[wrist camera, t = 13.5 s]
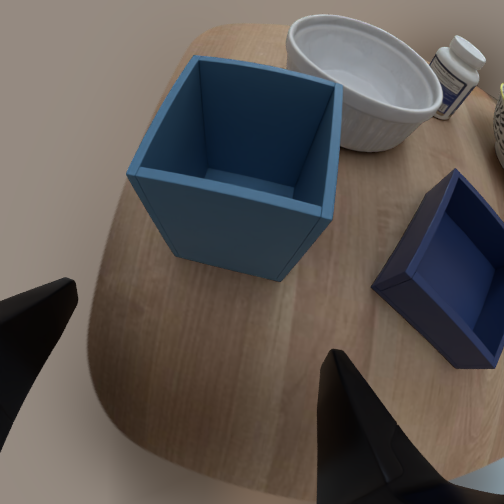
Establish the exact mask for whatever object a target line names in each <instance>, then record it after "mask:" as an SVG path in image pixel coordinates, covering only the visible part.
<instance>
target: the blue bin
mask: <svg viewBox="0 0 504 504" xmlns="http://www.w3.org/2000/svg"><path fill="white" fill-rule="evenodd" d="M342 103H343V85H342V84H339V83H335V82H332V81H329V80H325V79H322V78H318V77H315V76H311V75H307V74H303V73H299V72H295V71H291V70H287V69H282V68H277V67H273V66H268V65H262V64H257V63H251V62H245V61H239V60H232V59H225V58H217V57H207V56H197V55H193V57H192V58H191V60H190V61H189V63H188V64H187V65H186V67H185V68H184V70H183V72H182V73H181V75H180V76H179V78H178V79H177V81H176V82H175V84H174V86H173V87H172V89H171V90H170V92H169V94H168V95H167V97H166V99H165V100H164V102H163V104H162V105H161V107H160V109H159V111H158V112H157V114H156V116H155V118H154V119H153V121H152V123H151V125H150V127H149V129H148V130H147V132H146V134H145V136H144V138H143V140H142V142H141V144H140V146H139V148H138V150H137V152H136V154H135V156H134V158H133V160H132V162H131V164H130V166H129V168H128V170H127V172H126V175H127V177H128V179H129V181H130V182H131V184H132V186H133V188H134V189H135V191H136V193H137V195H138V196H139V198H140V200H141V202H142V203H143V205H144V207H145V208H146V210H147V212H148V213H149V215H150V217H151V218H152V220H153V222H154V223H155V225H156V227H157V228H158V230H159V232H160V233H161V235H162V237H163V238H164V240H165V241H166V243H167V245H168V246H169V248H170V249H171V251H172V253H173V254H174V256H176V257H180V258H184V259H188V260H192V261H196V262H200V263H204V264H208V265H212V266H216V267H220V268H224V269H228V270H232V271H236V272H241V273H245V274H249V275H253V276H257V277H262V278H266V279H270V280H274V281H279V282H281V281H282V280H283V279H284V278H285V277H286V275H287V274H288V273H289V272H290V271H291V269H292V268H293V267H294V266H295V265H296V264H297V262H298V261H299V260H300V259H301V258H302V256H303V255H304V254H305V253H306V252H307V250H308V249H309V248H310V247H311V246H312V244H313V243H314V242H315V241H316V239H317V238H318V237H319V236H320V235H321V233H322V232H323V231H324V230H325V228H326V227H327V226H328V225H329V223H330V222H331V221H332V219H333V211H334V202H335V193H336V184H337V174H338V163H339V151H340V138H341V122H342Z"/></svg>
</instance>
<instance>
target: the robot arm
mask: <svg viewBox="0 0 504 504" xmlns="http://www.w3.org/2000/svg"><path fill="white" fill-rule="evenodd" d="M77 303H78V294H77V288H76V283H75V281H74V280H72V279H69V278H66V277H65V278H62V279H59V280H56V281H53V282H51V283H48V284H45V285H42V286H39V287H37V288H34V289H31V290H29V291H26V292H23V293H20V294H18V295H15V296H12V297H10V298H7V299H4V300H2V301H0V452H1V450H2V447H3V445H4V443H5V440H6V438H7V436H8V434H9V431H10V429H11V427H12V425H13V422H14V420H15V418H16V416H17V414H18V412H19V410H20V408H21V406H22V404H23V402H24V400H25V398H26V396H27V394H28V393H29V391H30V389H31V387H32V385H33V383H34V381H35V379H36V377H37V376H38V374H39V372H40V371H41V369H42V367H43V365H44V364H45V362H46V360H47V359H48V357H49V355H50V354H51V352H52V350H53V349H54V347H55V345H56V344H57V342H58V340H59V339H60V337H61V335H62V333H63V331H64V329H65V327H66V325H67V323H68V321H69V319H70V317H71V316H72V314H73V312H74V310H75V308H76V306H77ZM317 504H504V495H500V494H492V493H488V492H483V491H478V490H474V489H470V488H465V487H462V486H458V485H455V484H452V483H450V482H448V481H447V480H445V479H444V478H443V477H442V476H441V475H440V474H439V473H438V472H437V471H436V470H435V469H434V468H433V467H432V465H431V464H430V463H429V462H428V461H427V460H426V459H425V458H424V457H423V455H422V454H421V453H420V452H419V451H418V450H417V448H416V447H415V446H414V445H413V444H412V442H411V441H410V440H409V439H408V437H407V436H406V435H405V433H404V432H403V431H402V429H401V428H400V427H399V425H397V423H396V421H395V420H394V418H393V417H392V416H391V414H390V413H389V412H388V410H387V409H386V407H385V406H384V405H383V403H382V402H381V401H380V399H379V398H378V397H377V395H376V394H375V393H374V391H373V390H372V388H371V387H370V386H369V384H368V383H367V382H366V380H365V379H364V378H363V376H362V375H361V374H360V372H359V371H358V370H357V368H356V367H355V366H354V364H353V363H352V361H351V360H350V359H349V357H348V356H347V355H346V353H345V352H344V351H343V350H338V349H331V350H330V351H329V353H328V355H327V356H326V358H325V360H324V362H323V363H322V366H321V369H320V380H319V392H318V402H317Z"/></svg>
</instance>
